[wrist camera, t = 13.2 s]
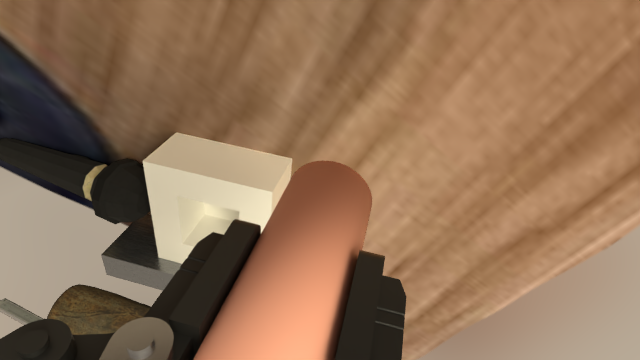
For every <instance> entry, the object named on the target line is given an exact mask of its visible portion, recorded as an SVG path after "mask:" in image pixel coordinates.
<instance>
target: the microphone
mask: <svg viewBox="0 0 640 360" xmlns="http://www.w3.org/2000/svg"><path fill="white" fill-rule="evenodd" d="M0 159H1V160H3V161H5V162H7V163H9V164H11V165H14V166H16V167H18V168H20V169H22V170H25V171H27V172H29V173H31V174H33V175H36V176H38V177H40V178H42V179H44V180H46V181H49V182H51V183H53V184H55V185H57V186H60V187H62V188H64V189H66V190H68V191H71V192H73V193H75V194H77V195H79V196H82V197H84V198H86V199H88V200H90V201H92V204H93V207H94V211H95V215H96V216H98V217H101V218H103V219H105V220H107V221H109V222H112V223H114V224H117V223H120V222H134V221H136V220H138V219H140V218H143V217H144V216H145V215H146V214H147V213H148V212H149V211H150V210H151V209H150V203H149V197H148V191H147V185H146V179H145V173H144V167H143V166H142V165H140V164H139V163H138V162H136V161H134V160H131V159H125V160H120V161H116V162H112V163H111V164H110V165H109V166H107V165H106V164H103V163H100V162H96V161H92V160H90V159H89V158H87V157H83V156H80V155H71V154H67V153H63V152H60V151H56V150H52V149H49V148H45V147H42V146H38V145H34V144H31V143H27V142H24V141H20V140H16V139H13V138H12V139H8V138H3V139H0Z"/></svg>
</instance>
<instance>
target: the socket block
mask: <svg viewBox="0 0 640 360" xmlns="http://www.w3.org/2000/svg"><path fill="white" fill-rule="evenodd" d="M291 166H292V158H287V157H283V156H279V155H274V154H270V153H265V152H261V151H256V150H252V149H248V148H243V147H239V146H234V145H230V144H226V143H221V142H217V141H212V140H208V139H204V138H199V137H195V136H190V135H186V134H181V133H177V132H176V133H175V134H174V135H173V136H171V137H170V138H169V139H168V140H167V141H166V142H164V143H163V144H162V145H161V146H160V147H158V148H157V149H156V150H155V151H154V152H153V153H151V154H150V155H149V156H148V157H147V158H146V159H144V160H143V167H144V173H145V179H146V185H147V191H148V197H149V203H150V209H151V215H152V221H153V227H154V233H155V239H156V245H157V251H158V257H159V258H163V259H166V260H170V261H174V262H177V263H181V264H183V262H184V261H185V259H187V258H188V255H189V254H190V252H191V251H192V250H193V248H194V247H195V245H196V244H197V243H198V242H199V241H200V240H202V239H203V238H205V237H206V236H208V235H209V234H211V233H212V232H215V233H219V234H223V235H224V233H225V232H226V230H227V229H228V227H229V226H230V224H231V223H232V221H233V220H235V219H238V220H242V221H246V222H250V223H254V224H258V225H260V226H261V233H262V231H263V229H264V228H265V226H266V224H267V222H268V220H269V218H270V216H271V215H272V213H273V211H274V209H275V207H276V205H277V204H278V202H279V200H280V198H281V196H282V194H283V192H284V191H285V189H286V187H287V185H288V183H289V181H290V178H291Z"/></svg>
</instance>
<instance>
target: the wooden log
mask: <svg viewBox="0 0 640 360" xmlns="http://www.w3.org/2000/svg"><path fill="white" fill-rule="evenodd" d="M150 308H151V307H150V306H148V305H145V304H141V303H138V302H136V301H133V300H131V299H128V298H126V297H123V296H121V295H118V294H115V293H112V292H108V291H105V290H102V289H99V288H95V287H91V286H86V285H75V286H72V287H70V288H69V289H68V290H66V291H65V292H64V293H63V294H62V295H61V296H60V297H59V298H58V299H57V301H56V302H55V303H54V305H53V306H52V308H51V310H50V312H49V314H48V317H47V319H56V320H60V321H62V322H64V323H65V324H67V325H68V327H69V328H70V330H71V333H72V335H83V334H107V333H114V332H116V331H117V330H118V329H119V328H120V327H122V326H123V325H125V324H126V323H128V322H130V321H132V320H135V319H139V318H143V317H144V316H145V315H146V313H147V312H148V311H149V310H150Z"/></svg>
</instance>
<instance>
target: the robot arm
mask: <svg viewBox="0 0 640 360" xmlns="http://www.w3.org/2000/svg"><path fill="white" fill-rule="evenodd" d="M260 235H261V226H260V225H258V224H254V223H250V222H246V221H242V220H238V219H235V220H233V221H232V223H231V224H230V226H229V227H228V229H227V230H226V232H225V233H224V235H223V234H219V233H215V232H212V233H211V234H209V235H208V236H206V237H205V238H203V239H202V240H200V241H199V242H198V243H197V244H196V245H195V247H194V248H193V250H192V251H191V252H190V254H189V255H188V258H187V259H185V261H184V262H183V264H182V265H181V266H180V269H179V270H178V271H177V272H176V273H175V275H174V276H173V277H172V279H171V280H170V282H169V283H168V284H167V286H166V287H165V289H164V290H163V292H162V293H161V294H160V296H159V297H158V298H157V300H156V301H155V303H154V304H153V305H152V307H151V308H150V310H149V311H148V312H147V313H146V315H145V316H144V317H143V318H139V319H135V320H132V321H130V322H128V323H126V324H125V325H123V326H122V327H120V328H119V329H118V330H117V331H116V332H114V333H107V334H83V335H72V333H71V330H70V328H69V327H68V325H67V324H65V323H64V322H62V321H60V320H56V319H42V320H37V321H34V322H31V323H28V324H26V325H24V326H22V327H20V328H19V329H17V330H15V331H13V332H12V333H10V334H8V335H6V336H5V337H3V338H1V339H0V360H193V359H194V357H195V355H196V353H197V351H198V349H199V348H200V346H201V344H202V342H203V340H204V338H205V337H206V335H207V333H208V331H209V329H210V327H211V325H212V324H213V322H214V320H215V318H216V316H217V314H218V313H219V311H220V309H221V307H222V305H223V303H224V301H225V300H226V298H227V296H228V294H229V292H230V290H231V288H232V287H233V285H234V283H235V281H236V279H237V277H238V276H239V274H240V272H241V270H242V268H243V266H244V264H245V263H246V261H247V259H248V257H249V255H250V253H251V252H252V250H253V248H254V246H255V244H256V242H257V240H258V239H259V237H260ZM384 260H385V256H382V255H378V254H374V253H370V252H366V251H362V250H359V255H358V259H357V264H356V268H355V272H354V277H353V281H352V286H351V290H350V295H349V299H348V303H347V308H346V312H345V317H344V321H343V325H342V330H341V334H340V339H339V343H338V348H337V352H336V356H335V360H401V358H402V345H403V332H404V331H403V329H404V319H405V317H404V315H405V307H406V295H405V292H404V289H403V287H402V284H401V282H400V280H399V279H395V278H391V277H387V276H383V275H382V274H383V267H384Z"/></svg>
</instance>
